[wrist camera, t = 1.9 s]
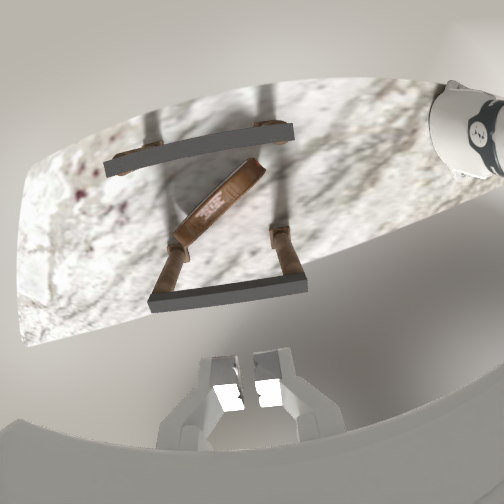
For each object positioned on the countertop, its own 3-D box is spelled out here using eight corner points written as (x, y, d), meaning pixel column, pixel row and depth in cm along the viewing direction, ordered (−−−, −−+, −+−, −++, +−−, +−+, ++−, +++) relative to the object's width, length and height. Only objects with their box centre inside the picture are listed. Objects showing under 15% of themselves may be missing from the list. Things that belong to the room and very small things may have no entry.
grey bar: (289, 123, 24) (292, 122, 22) (291, 139, 24) (294, 140, 23) (109, 160, 24) (103, 162, 22) (113, 174, 24) (106, 177, 23)
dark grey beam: (304, 272, 30) (307, 279, 29) (304, 283, 31) (307, 291, 30) (150, 294, 31) (147, 302, 29) (154, 305, 31) (151, 313, 30)
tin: (191, 235, 41) (181, 260, 34) (176, 221, 40) (163, 244, 33) (264, 167, 38) (272, 177, 30) (249, 151, 37) (253, 156, 29)
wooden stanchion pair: (275, 120, 35) (292, 116, 23) (290, 244, 43) (308, 286, 32) (143, 145, 35) (105, 154, 24) (172, 262, 43) (153, 308, 32)
